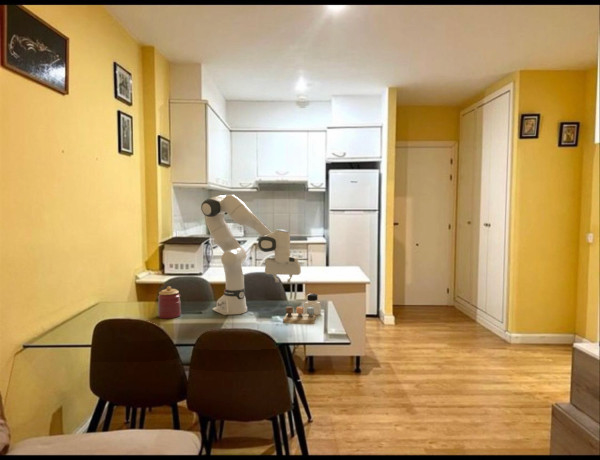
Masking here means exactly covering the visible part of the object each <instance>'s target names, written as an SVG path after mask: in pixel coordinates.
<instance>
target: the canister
mask: <svg viewBox="0 0 600 460" xmlns="http://www.w3.org/2000/svg"><path fill="white" fill-rule="evenodd" d="M179 292H180V291H179V290H178V289H176V288H172V286H169V285H168V286H167V287H166V288H164V289H162V290H160V291H159V292H158V294H159V295H158V296H157V299H158V301H157V304H158V305H157V306H158V307H157V310H158V313H157V315H158V317H159V318H160V319H164V320H165V319H167V320H168V319H175V318H179V317H180V316H181V315H182V309H181V308H182V306H181V305H182V304H181V298H180V297H181V294H180V293H179Z"/></svg>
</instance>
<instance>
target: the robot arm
mask: <svg viewBox="0 0 600 460" xmlns="http://www.w3.org/2000/svg"><path fill="white" fill-rule="evenodd" d="M200 209H201V212H202V213H203V216H205V224H206V226H207V228H208V231H209V233H210V234H211V236H212V238H213V240H214V242H215V244H216V245H217V246H218V247H219V248H220V249H221V250H222V251H223V253H222V255H221V257H220V259H221V261H220V262H221V263H222V265H223V270H224V274H225V276H224V277H225V288H224V289H223V292H224V293H223V295H222V296H221V297H219V298H218V299H217V301H216V306H215V307H213V308H212V311H214V312H216V313H218V314H221V315H223V316H224V315H225V316H228V315H241V314H244V313H246V312H248V306H247V299H246V295H245V294H246V289H245V288H246V287H245V274H244V272H243V269H242V264H243V263H244V261H245V260H246V258H247V251H246V250H245V249H244V248H243V247H242V246H241V244H240V243H239V241H238V240H237V239H236V238H235V236H234V234H233V233H232V231H231V229H230V227H229V226H228V224H227V221H226V220H225V217H224V216H225V215H228V216H229V217H230V218H231V219H232V220H233V221H234V222H235V223H236V224H238V225H240V226H245V227H247V228H251V229H253V230H254V231H255V232H256V233H257V234H258V235H259V236H261V237H259V239H258V242H257V246H258V248H259V250H260V251H262V252H263V253H269V252H274V257H266V259H265V260H264V265H265V267H264V274H266V275H272V276H273V278H274V279H275V281H274V282H275V283H279V282H280V281H279V278H277V276H279V275H289V276H288V277H289V278H288V279H287V284H289V283H291V279H292V278H293V276H298V275H299V276H300V275H301V272H302V270H301V263H300V262H299V256H296V255H293V254H291V250H290V247H291V236H290V233H289V231H288V230H287V229H284V228H283V229H282V228H281V229H280V228H277V229H275V230H274V231H272V230H271V229H270V228H269V227H268V226H266V224H265V223H264V222H263V221H261V220H260V219H259V217H257V216H256V215H255V214H254V212H252V210H251V209H250V208H249V207H248V206H247V205H246V204H245V202H244V201H242V199H240V198H239V197H237V196H236V195H235V194H224V193H223V194H221V195H215V196H213V197H210V198H207V199H205V200H204V201H203V202H202V203H201V206H200Z"/></svg>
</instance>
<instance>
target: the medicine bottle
mask: <svg viewBox="0 0 600 460" xmlns="http://www.w3.org/2000/svg"><path fill="white" fill-rule="evenodd" d="M306 299H307V300H306V302H304V303H303V311H304V313H303V314H307V308H308V307H313V308H314V314H316V316H318V315H319V316H320V315H321V313H322V309H321V308H322V307H321V306H322V305H321V302H320V301H318V294H316V293H308V294H307V296H306Z"/></svg>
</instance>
